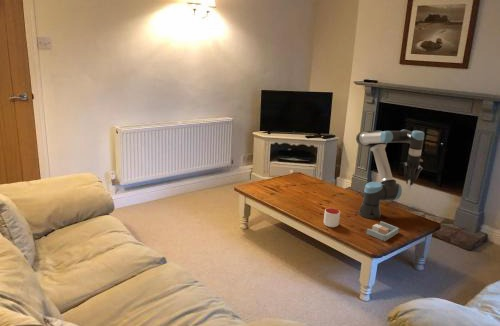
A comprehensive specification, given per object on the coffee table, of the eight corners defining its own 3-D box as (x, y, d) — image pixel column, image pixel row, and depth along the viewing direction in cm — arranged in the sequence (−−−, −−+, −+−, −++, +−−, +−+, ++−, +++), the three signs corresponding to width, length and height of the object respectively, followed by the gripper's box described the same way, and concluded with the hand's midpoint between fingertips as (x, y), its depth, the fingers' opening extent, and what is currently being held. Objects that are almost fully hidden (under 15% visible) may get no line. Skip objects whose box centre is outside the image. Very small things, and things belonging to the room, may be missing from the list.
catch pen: (366, 233, 265) (367, 228, 264) (380, 225, 277) (381, 221, 276) (384, 241, 256) (385, 236, 255) (398, 232, 269) (399, 228, 268)
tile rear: (371, 231, 270) (372, 225, 268) (375, 229, 273) (376, 223, 271) (377, 233, 266) (378, 228, 265) (381, 231, 270) (382, 226, 268)
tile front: (378, 233, 267) (379, 228, 265) (381, 231, 270) (382, 226, 268) (384, 236, 264) (385, 230, 262) (387, 234, 267) (388, 228, 265)
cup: (336, 221, 281) (338, 208, 277) (340, 228, 271) (341, 214, 268) (322, 221, 280) (323, 207, 277) (325, 227, 271) (326, 213, 268)
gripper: (402, 153, 266) (396, 187, 273) (421, 158, 258) (415, 193, 265) (407, 151, 271) (402, 185, 278) (427, 156, 263) (420, 190, 270)
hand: (408, 189), depth 271 cm, fingers closed
